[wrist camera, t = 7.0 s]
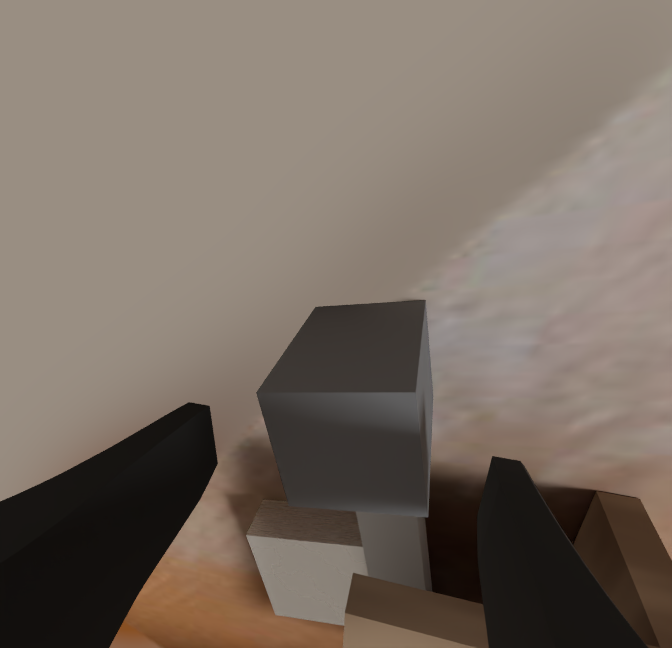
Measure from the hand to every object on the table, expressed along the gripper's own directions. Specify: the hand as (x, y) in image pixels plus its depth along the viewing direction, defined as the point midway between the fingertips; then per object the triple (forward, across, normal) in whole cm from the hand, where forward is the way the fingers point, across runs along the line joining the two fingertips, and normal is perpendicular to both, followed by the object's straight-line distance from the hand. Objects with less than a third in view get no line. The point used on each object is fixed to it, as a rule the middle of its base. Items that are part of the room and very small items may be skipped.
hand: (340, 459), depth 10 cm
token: (+6, +2, +12) cm, 14 cm away
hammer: (+6, -1, +7) cm, 9 cm away
